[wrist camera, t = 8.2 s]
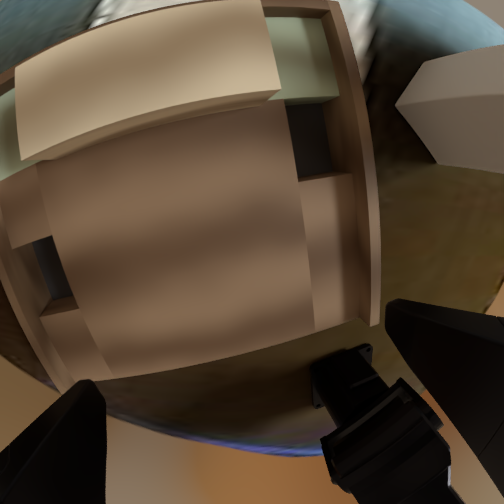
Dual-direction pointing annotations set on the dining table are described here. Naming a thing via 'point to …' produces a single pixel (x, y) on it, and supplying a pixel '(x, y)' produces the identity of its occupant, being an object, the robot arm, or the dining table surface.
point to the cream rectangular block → (144, 76)
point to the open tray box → (200, 220)
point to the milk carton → (460, 108)
